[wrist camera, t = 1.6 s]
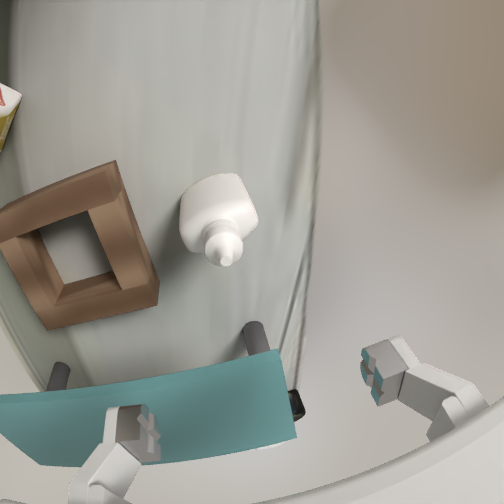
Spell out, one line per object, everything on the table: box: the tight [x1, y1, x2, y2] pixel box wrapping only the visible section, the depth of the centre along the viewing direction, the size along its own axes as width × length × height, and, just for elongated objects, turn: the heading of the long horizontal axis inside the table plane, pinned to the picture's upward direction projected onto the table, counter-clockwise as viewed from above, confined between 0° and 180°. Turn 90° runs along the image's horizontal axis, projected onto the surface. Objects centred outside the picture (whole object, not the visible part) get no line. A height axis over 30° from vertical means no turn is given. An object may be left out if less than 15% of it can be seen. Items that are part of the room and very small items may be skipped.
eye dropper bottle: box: [179, 173, 258, 267], centre depth 24 cm, size 4×6×12 cm
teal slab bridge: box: [0, 321, 297, 467], centre depth 28 cm, size 12×29×14 cm, turn 101°
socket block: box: [0, 160, 160, 330], centre depth 27 cm, size 13×13×4 cm
